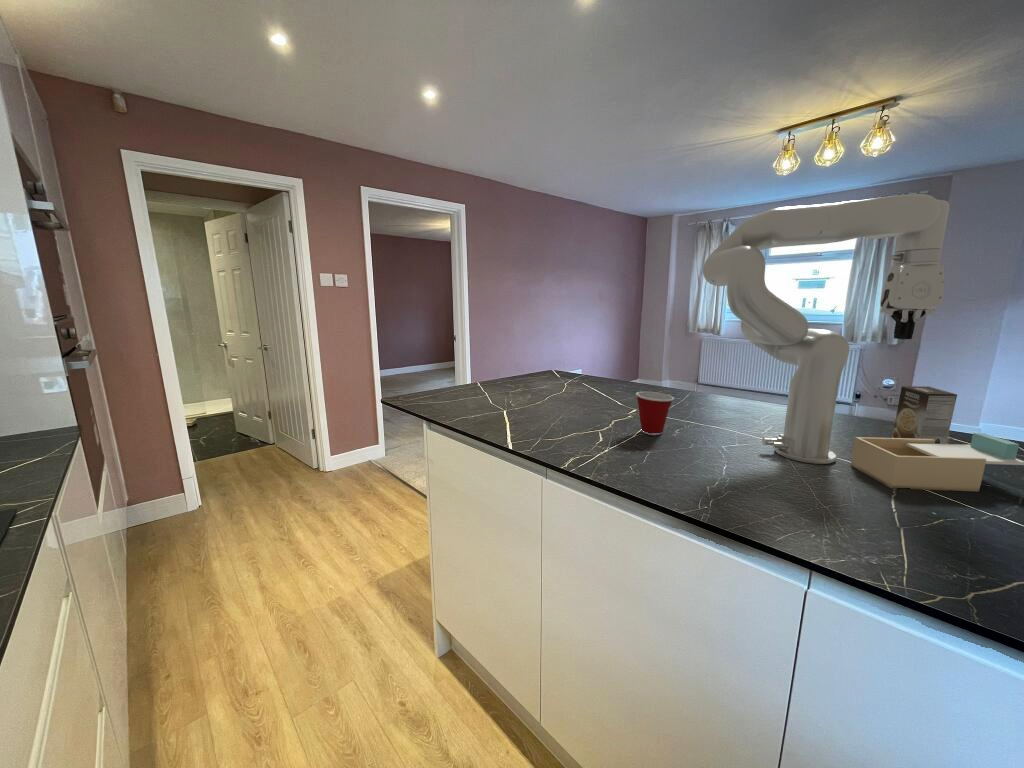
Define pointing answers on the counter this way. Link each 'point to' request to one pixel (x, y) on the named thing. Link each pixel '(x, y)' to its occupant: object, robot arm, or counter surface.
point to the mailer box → (915, 465)
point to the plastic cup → (653, 410)
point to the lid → (975, 449)
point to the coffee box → (924, 413)
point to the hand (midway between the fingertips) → (902, 338)
